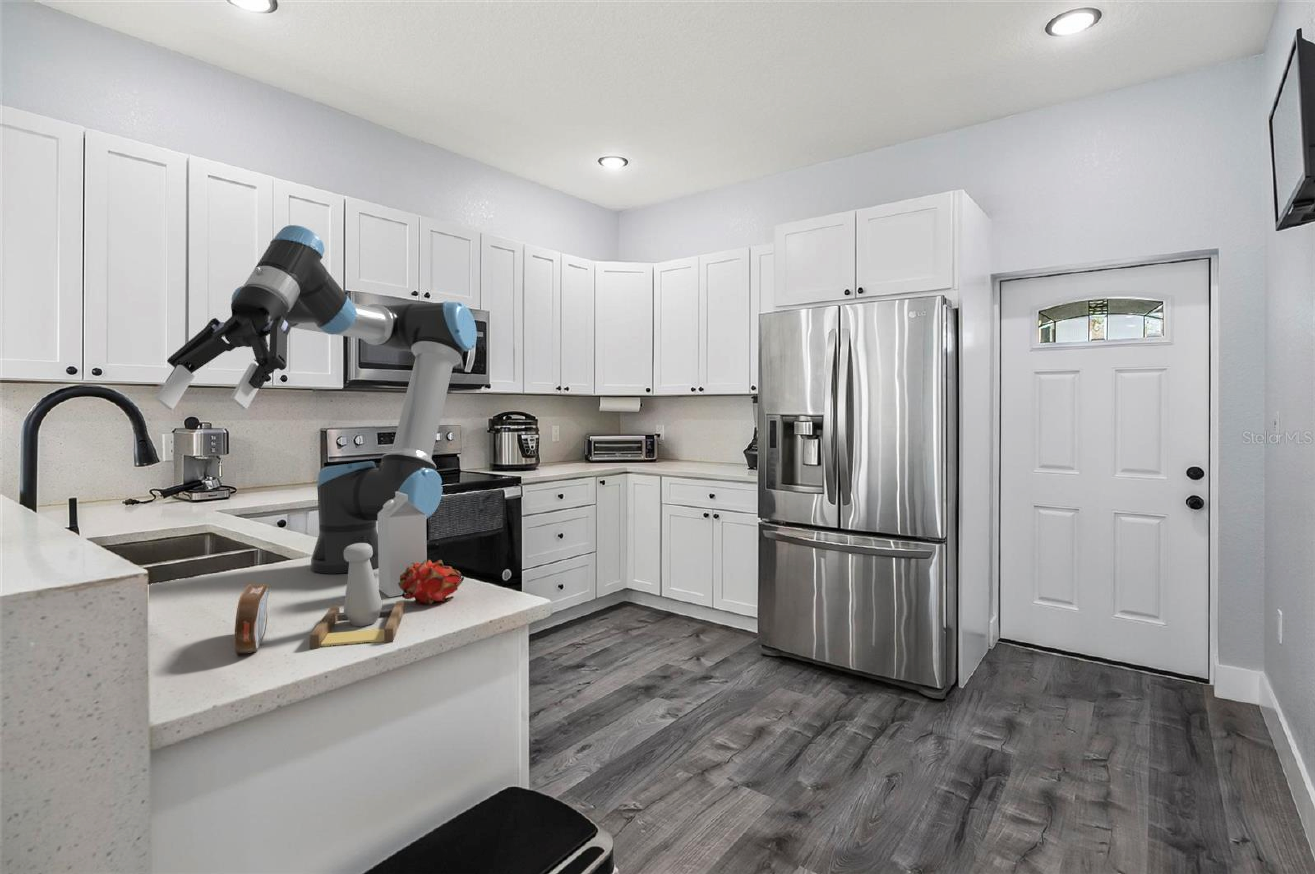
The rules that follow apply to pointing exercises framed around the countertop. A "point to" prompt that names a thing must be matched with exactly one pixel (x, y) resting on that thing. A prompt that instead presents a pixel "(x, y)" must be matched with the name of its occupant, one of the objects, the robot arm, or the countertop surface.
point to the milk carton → (399, 541)
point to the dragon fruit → (429, 582)
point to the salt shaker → (361, 586)
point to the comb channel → (335, 615)
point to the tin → (251, 619)
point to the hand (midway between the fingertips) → (200, 404)
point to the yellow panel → (353, 637)
